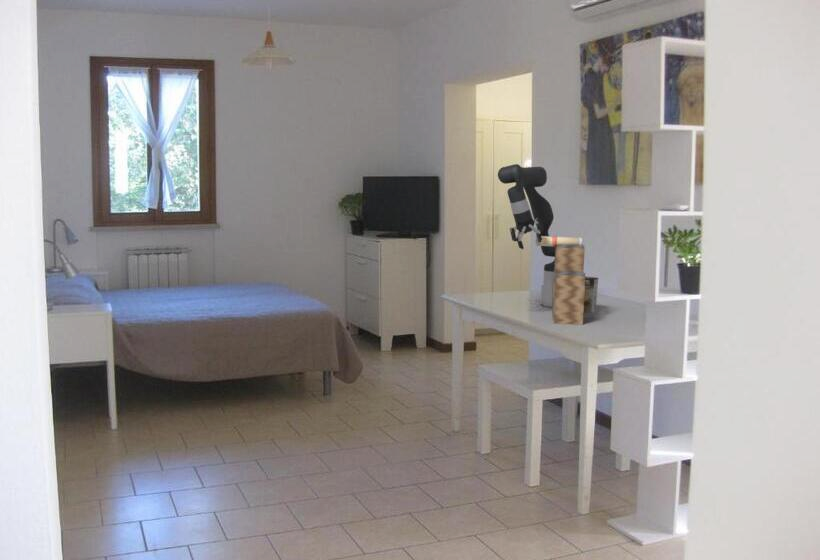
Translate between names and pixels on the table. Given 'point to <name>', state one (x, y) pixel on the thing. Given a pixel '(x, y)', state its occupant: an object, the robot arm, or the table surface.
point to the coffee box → (590, 294)
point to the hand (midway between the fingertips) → (531, 245)
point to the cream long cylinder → (558, 241)
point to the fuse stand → (568, 284)
